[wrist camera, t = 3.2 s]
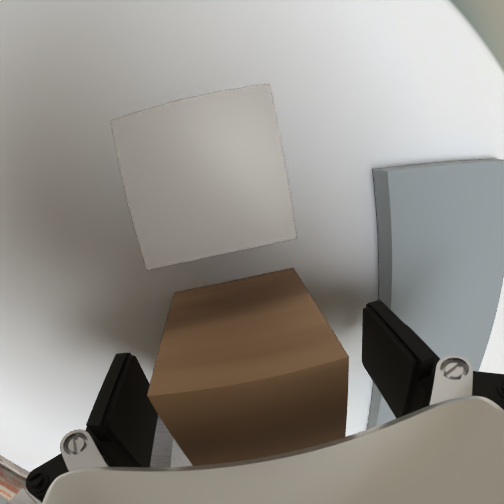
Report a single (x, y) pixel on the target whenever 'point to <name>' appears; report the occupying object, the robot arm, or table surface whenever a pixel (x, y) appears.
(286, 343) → the walnut block
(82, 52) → the table surface
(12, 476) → the packaged product
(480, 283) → the slate board
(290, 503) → the robot arm
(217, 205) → the grey plastic cube
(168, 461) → the dark metal block
